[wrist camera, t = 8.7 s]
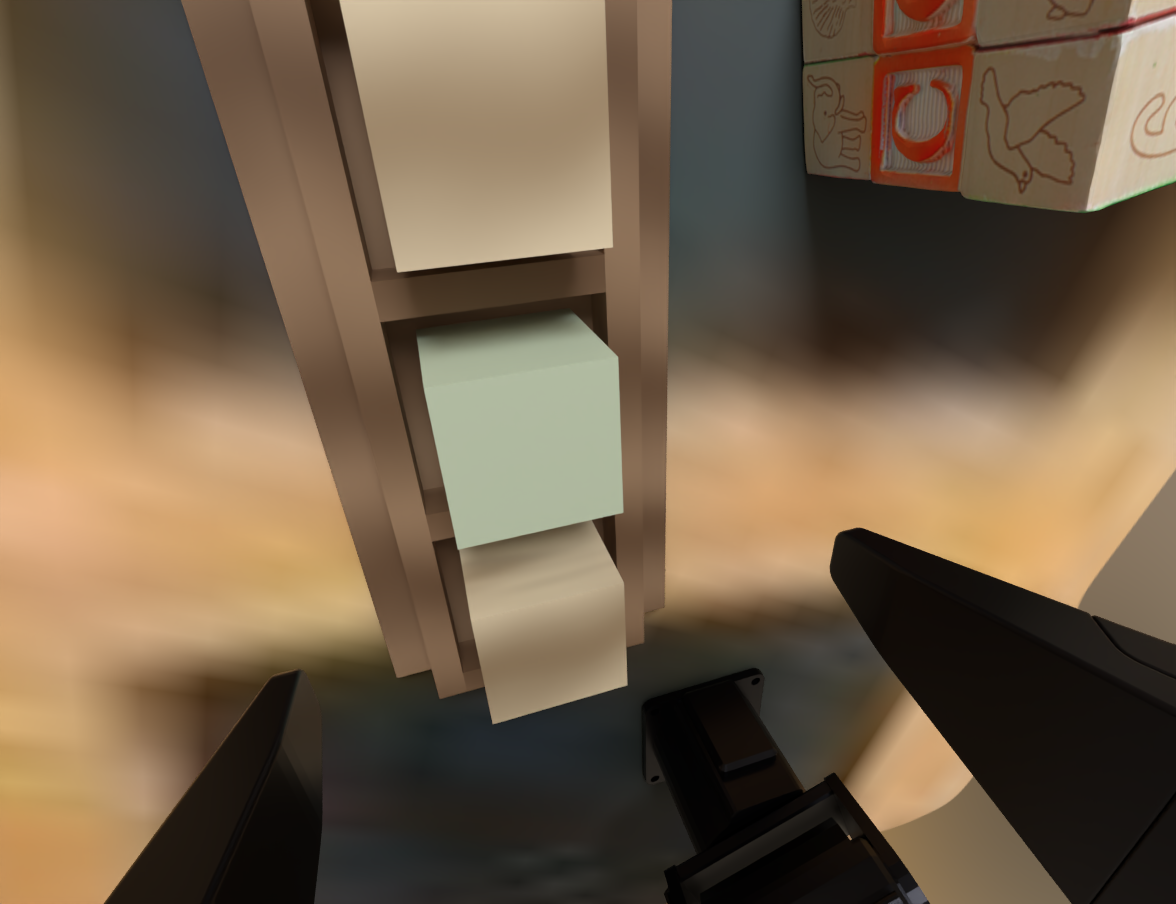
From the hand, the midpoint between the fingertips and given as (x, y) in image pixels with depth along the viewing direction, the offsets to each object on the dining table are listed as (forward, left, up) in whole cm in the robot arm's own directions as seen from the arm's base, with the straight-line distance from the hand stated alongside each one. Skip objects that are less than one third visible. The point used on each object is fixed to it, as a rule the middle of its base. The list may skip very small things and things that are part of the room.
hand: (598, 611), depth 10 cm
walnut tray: (0, 0, -11) cm, 11 cm away
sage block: (0, 0, -10) cm, 10 cm away
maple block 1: (+7, 0, -10) cm, 12 cm away
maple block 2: (-7, 0, -10) cm, 12 cm away
